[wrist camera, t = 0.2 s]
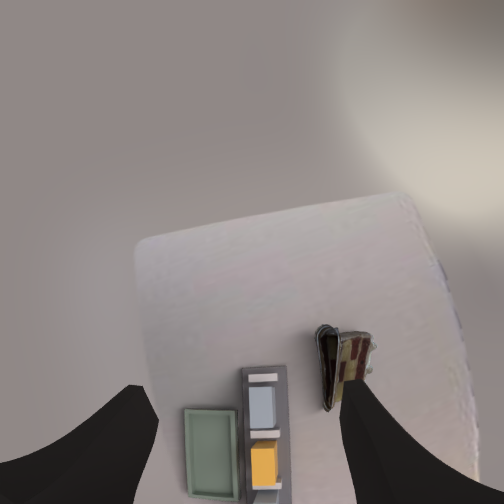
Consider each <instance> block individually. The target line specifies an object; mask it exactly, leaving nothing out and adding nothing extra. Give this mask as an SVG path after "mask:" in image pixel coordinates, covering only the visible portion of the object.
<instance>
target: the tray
mask: <svg viewBox="0 0 504 504" xmlns="http://www.w3.org/2000/svg"><path fill="white" fill-rule="evenodd" d="M184 413H185V448H186V469H187V485H188V497H191V498H199V499H208V500H219V501H233V502H238V501H239V500H240V498H241V490H240V467H239V442H238V412H237V410H205V409H184Z"/></svg>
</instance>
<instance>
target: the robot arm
mask: <svg viewBox="0 0 504 504" xmlns="http://www.w3.org/2000/svg"><path fill="white" fill-rule="evenodd" d="M339 418H340V426H341V433H342V441H343V445H344V449H345V453H346V457H347V461H348V465H349V469H350V473H351V477H352V481H353V485H354V489H355V494H356V500H357V504H504V492H502V491H499V490H496V489H493V488H490V487H488V486H485V485H483V484H481V483H479V482H476V481H474V480H472V479H470V478H468V477H466V476H465V475H463V474H461V473H460V472H458V471H456V470H455V469H453V468H451V467H450V466H448V465H446V464H445V463H443V462H442V461H441V460H439V459H438V458H437V457H435V456H434V455H433V454H431V453H430V452H429V451H428V450H426V449H425V448H424V447H423V446H422V445H420V444H419V443H418V442H417V441H416V440H415V439H414V438H413V437H412V436H411V435H410V434H409V433H408V432H406V431H405V430H404V429H403V427H402V426H401V425H400V424H399V423H398V422H397V421H396V420H395V419H394V418H393V417H392V416H391V414H390V413H389V412H388V411H387V410H386V409H385V408H384V406H383V405H382V404H381V403H380V401H379V400H378V399H377V398H376V397H375V395H374V394H373V393H372V391H371V390H370V389H369V387H368V386H367V385H366V383H365V382H364V380H362V379H355V380H349V381H344V384H343V393H342V402H341V410H340V417H339ZM158 423H159V419H158V417H157V415H156V413H155V411H154V409H153V407H152V405H151V403H150V401H149V399H148V397H147V395H146V393H145V391H144V388H143V386H137V385H128V386H127V387H125V388H124V389H123V390H122V391H120V392H119V393H118V394H117V395H116V396H115V397H113V398H112V399H111V400H110V401H109V402H108V403H106V404H105V405H104V406H103V407H102V408H101V409H99V410H98V411H97V412H96V413H95V414H93V415H92V416H91V417H90V418H89V419H87V420H86V421H85V422H83V423H82V424H81V425H79V426H78V427H77V428H75V429H74V430H72V431H71V432H70V433H68V434H67V435H65V436H64V437H62V438H61V439H59V440H57V441H55V442H54V443H52V444H50V445H48V446H46V447H44V448H42V449H40V450H38V451H36V452H33V453H31V454H29V455H26V456H23V457H21V458H17V459H14V460H11V461H7V462H2V463H0V504H133V501H134V497H135V493H136V490H137V486H138V483H139V481H140V478H141V475H142V473H143V470H144V468H145V465H146V463H147V460H148V457H149V454H150V452H151V449H152V447H153V444H154V440H155V436H156V432H157V428H158Z"/></svg>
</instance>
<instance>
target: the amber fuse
mask: <svg viewBox="0 0 504 504" xmlns="http://www.w3.org/2000/svg"><path fill="white" fill-rule="evenodd" d="M251 463H252V486H275V485H276V480H277V475H278V458H277V440H273V441H257V442H256V443H255V444H254V446H253V447H252V448H251Z"/></svg>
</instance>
